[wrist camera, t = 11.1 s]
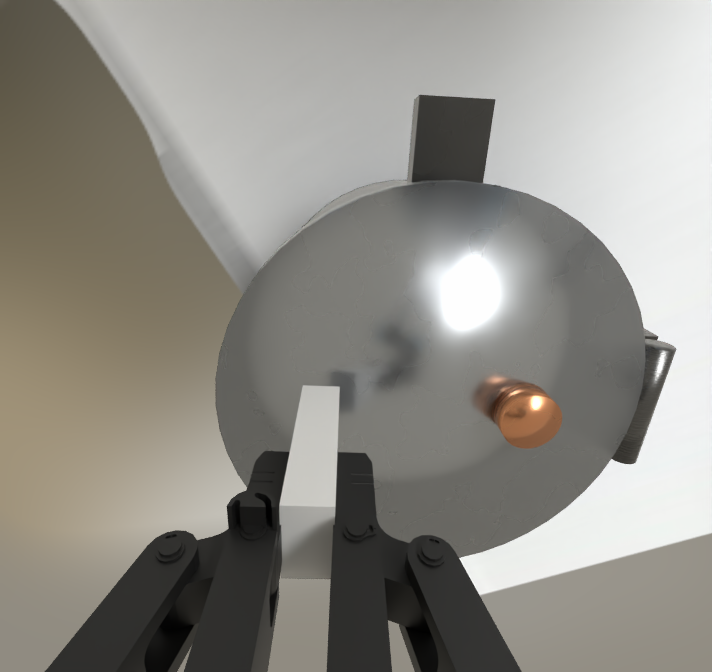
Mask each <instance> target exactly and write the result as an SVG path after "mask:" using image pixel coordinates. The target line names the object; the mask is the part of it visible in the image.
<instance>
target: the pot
mask: <svg viewBox="0 0 712 672" xmlns="http://www.w3.org/2000/svg"><path fill="white" fill-rule="evenodd" d="M494 105H495V99H479V98H462V97H445V96H428V95H419V96H418V97H417V98H416V99H414V109H413V120H412V131H411V143H410V154H409V166H408V177H407V180H391V181H385V182H379V183H373V184H370V185H367V186H363V187H360V188H357V189H355V190H353V191H351V192H348V193H346V194H344V195H342V196H340V197H339V198H337V199H335V200H334V201H332V202H331V203H329V204H328V205H326V206H325V207H324V208H323V209H321V210H320V211H319V212H318V213H317V214H315V215H314V216H313V217H312V218H311V219H310V221H309V222H308V223H310V222H311V221H313V220H314V219H316V218H317V217H319V216H321V215H322V214H324V213H325V212H327V211H328V210H330V209H332V208H334V207H336V206H338V205H340V204H342V203H345V202H347V201H349V200H351V199H353V198H355V197H358V196H360V195H363V194H366V193H369V192H372V191H376V190H379V189H382V188H386V187H389V186H393V185H399V184H405V183H411V182H418V181H427V180H460V181H468V182H476V183H483V178H484V171H485V164H486V158H487V151H488V145H489V138H490V131H491V125H492V118H493V111H494ZM308 223H307V224H308ZM643 329H644V328H643ZM644 334H645V339H651V340H657V339H658V336H656V335H655V334H653V333H651V332H649V331H648V330H646V329H644Z"/></svg>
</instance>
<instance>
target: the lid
mask: <svg viewBox="0 0 712 672" xmlns="http://www.w3.org/2000/svg"><path fill="white" fill-rule="evenodd" d="M675 351H676V348H675V347H674V346H672V345H670V344H668V343H665V342H661V341H657V340H651V339H645V334H644V329H643V323H642V317H641V312H640V309H639V306H638V303H637V300H636V297H635V295H634V292H633V289H632V286H631V285H630V283H629V281H628V279H627V277H626V275H625V274H624V272H623V270H622V268H621V266H620V264H619V263H618V262H617V260H616V259H615V258H614V257H613V255H612V254H611V253H610V252H609V250H608V249H607V248H606V246H605V245H604V244H603V243H602V242H601V241H600V240H599V239H598V238H597V237H596V236H595V235H594V234H593V233H592V232H590V231H589V230H588V229H587V228H586V227H585V226H584V225H583V224H582V223H580V222H579V221H577V220H576V219H574V218H573V217H571V216H570V215H568V214H567V213H565V212H564V211H562V210H561V209H559V208H557V207H556V206H554V205H551V204H549V203H547V202H545V201H543V200H540V199H538V198H536V197H534V196H531V195H529V194H526V193H523V192H519V191H515V190H512V189H508V188H504V187H501V186H497V185H491V184H484V183H476V182H468V181H460V180H427V181H418V182H411V183H405V184H399V185H393V186H389V187H386V188H382V189H379V190H376V191H372V192H369V193H366V194H363V195H360V196H358V197H355V198H353V199H351V200H349V201H347V202H345V203H342V204H340V205H338V206H336V207H334V208H332V209H330V210H328V211H327V212H325V213H324V214H322V215H321V216H319V217H317V218H316V219H314V220H313V221H311V222H310V223H308V224H306V225H305V226H304V227H303V228H301V229H300V230H299V231H298V232H297V233H295V234H294V235H293V236H292V237H291V238H290V239H288V240H287V241H286V242H285V243H284V244H282V245H281V246H280V248H279V249H278V250H277V251H276V252H275V253H274V254H273V255H272V256H271V258H270V259H269V260H268V261H267V262H266V263H265V264H264V265H263V266H262V268H261V269H260V271H259V272H258V274H257V275H256V277H255V278H254V280H253V281H252V283H251V284H250V286H249V287H248V289H247V290H246V292H245V293H244V295H243V296H242V298H241V300H240V302H239V304H238V306H237V308H236V310H235V312H234V314H233V316H232V318H231V320H230V323H229V325H228V327H227V330H226V333H225V337H224V340H223V343H222V346H221V350H220V353H219V360H218V366H217V373H216V409H217V415H218V422H219V428H220V432H221V435H222V438H223V441H224V444H225V447H226V451H227V453H228V455H229V457H230V459H231V461H232V463H233V465H234V467H235V469H236V471H237V473H238V475H239V476H240V478H241V479H242V481H243V482H244V484H245V485H246V486H247V487H248V484H249V482H250V477H251V474H252V471H253V468H254V464H255V461H256V460H257V458H258V457H259V456H260V455H261V454H262V453H263V452H264V451H284V452H290V448H291V443H292V438H293V433H294V428H295V423H296V418H297V413H298V408H299V403H300V397H301V392H302V387H303V385H308V386H337V387H340V393H339V421H338V449H337V452H352V453H366V454H367V456H368V457H369V459H370V460H371V462H372V465H373V478H374V490H375V503H376V515H377V521H378V524H379V525H380V527H381V529H382V530H383V531H384V532H385V533H386V534H388V535H389V536H391V537H393V538H395V539H398V540H401V541H404V542H407V543H410V542H411V541H412V540H413V539H414V538H416V537H419V536H421V535H433V536H436V537H439V538H441V539H443V540H445V541H446V542H448V543H449V544H450V545H451V547H452V548H453V549H454V550H455V552H456V554H457V556H458V558H460V557H464V556H468V555H472V554H476V553H480V552H483V551H486V550H489V549H491V548H494V547H497V546H500V545H503V544H505V543H507V542H509V541H512V540H514V539H516V538H518V537H520V536H522V535H524V534H526V533H528V532H530V531H532V530H533V529H535V528H537V527H538V526H540V525H542V524H543V523H545V522H547V521H548V520H550V519H551V518H552V517H554V516H555V515H556V514H558V513H559V512H561V511H562V510H563V509H565V508H566V507H567V506H568V505H569V504H571V503H572V502H573V501H574V500H575V499H576V498H577V497H578V496H580V495H581V494H582V493H583V492H584V491H585V490H586V489H587V488H588V487H589V486H590V484H591V483H592V482H593V481H594V480H595V479H596V478H597V477H598V476H599V475H600V473H601V472H602V471H603V469H604V468H605V467H606V465H607V464H608V462H609V461H610V460H611V459H613V460H615V461H617V462H620V463H624V464H634V463H635V462H636V460H637V458H638V455H639V452H640V449H641V446H642V444H643V441H644V438H645V435H646V433H647V430H648V427H649V424H650V421H651V419H652V416H653V413H654V410H655V407H656V405H657V402H658V399H659V396H660V393H661V391H662V388H663V385H664V382H665V379H666V377H667V374H668V371H669V368H670V365H671V363H672V360H673V357H674V354H675Z"/></svg>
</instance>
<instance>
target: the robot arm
mask: <svg viewBox="0 0 712 672" xmlns="http://www.w3.org/2000/svg"><path fill="white" fill-rule="evenodd" d="M339 393H340V387H337V386H308V385H303V387H302V392H301V397H300V403H299V408H298V413H297V418H296V423H295V428H294V433H293V438H292V443H291V448H290V452H284V451H264V452H263V453H262V454H261V455H260V456H259V457H258V458H257V460H256V461H255V464H254V468H253V471H252V474H251V477H250V482H249V484H248V487H247V491H244V492H242V493H239V494H237V495H236V496H235V497H233V498H232V499H231V500H230V502H229V504H228V505H227V513H228V525H229V529H228V530H226V531H225V532H223V533H221V534H219V535H216V536H213V537H209V538H205V539H201V540H196V538H195V537H194V535H193V534H191V533H188V532H186V531H172V532H167V533H165V534H163V535H161V536H159V537H157V538H155V539H154V540H153V541H152V542H151V543H150V544H149V545H148V546H147V547H146V549H145V550H144V551H143V552H142V553H141V555H140V556H139V557H138V558H137V559H136V561H135V562H134V563H133V564H132V566H131V567H130V568H129V569H128V570H127V572H126V573H125V574H124V575H123V577H122V578H121V579H120V580H119V581H118V583H117V584H116V585H115V586H114V588H113V589H112V590H111V592H110V593H109V594H108V595H107V596H106V598H105V599H104V600H103V601H102V602H101V604H100V605H99V606H98V607H97V609H96V610H95V611H94V612H93V613H92V615H91V616H90V617H89V618H88V619H87V621H86V622H85V623H84V624H83V626H82V627H81V628H80V629H79V631H78V632H77V633H76V634H75V636H74V637H73V638H72V639H71V640H70V642H69V643H68V644H67V645H66V647H65V648H64V649H63V650H62V651H61V653H60V654H59V655H58V657H57V658H56V659H55V660H54V661H53V663H52V664H51V665H50V666H49V668H48V669H47V670H46V671H45V672H177V671H178V669H179V667H180V665H181V664H182V662H183V660H184V658H185V656H186V655H187V653H188V651H189V649H190V647H191V646H192V647H191V651H190V654H189V657H188V660H187V663H186V666H185V670H184V672H267V671H268V665H269V658H270V652H271V645H272V639H273V631H274V625H275V619H276V613H277V606H278V600H279V579H280V572H281V578H297V579H331V586H330V587H331V588H330V610H329V632H328V656H327V672H392V666H391V654H390V642H389V630H388V620H389V621H392V622H395V623H398V624H399V627H400V630H401V633H402V636H403V639H404V641H405V645H406V647H407V650H408V653H409V656H410V659H411V662H412V665H413V667H414V670H415V672H521V670H520V668H519V666H518V665H517V663H516V661H515V659H514V657H513V655H512V654H511V652H510V650H509V648H508V646H507V645H506V643H505V641H504V639H503V637H502V636H501V634H500V632H499V630H498V628H497V626H496V625H495V623H494V621H493V619H492V617H491V616H490V614H489V612H488V611H487V608H486V607H485V605H484V603H483V601H482V599H481V597H480V596H479V594H478V592H477V590H476V588H475V587H474V585H473V583H472V581H471V579H470V578H469V576H468V574H467V572H466V570H465V569H464V567H463V565H462V563H461V561H460V559H459V558H458V556H457V554H456V552H455V550H454V549H453V548H452V547H451V545H450V544H449V543H448V542H446V541H445V540H443V539H441V538H439V537H436V536H433V535H421V536H419V537H416V538H414V539H413V540H412V541H411V542H410V543H407V542H404V541H401V540H398V539H395V538H393V537H391V536H389V535H388V534H386V533H385V532H384V531H383V530H382V529H381V527H380V525H379V524H378V521H377V515H376V503H375V490H374V478H373V465H372V462H371V460H370V459H369V457H368V456H367V454H366V453H352V452H337V449H338V421H339Z"/></svg>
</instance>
